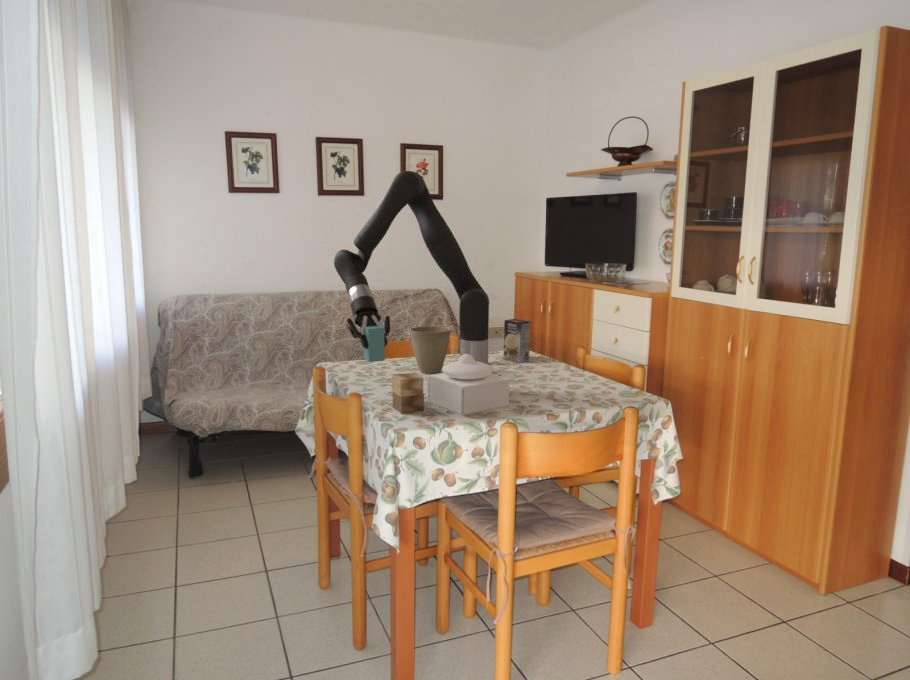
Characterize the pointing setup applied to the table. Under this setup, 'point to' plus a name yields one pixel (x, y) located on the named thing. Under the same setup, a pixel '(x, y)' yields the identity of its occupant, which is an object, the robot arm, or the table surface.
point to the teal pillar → (374, 344)
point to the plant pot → (430, 347)
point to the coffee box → (516, 340)
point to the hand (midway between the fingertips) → (376, 346)
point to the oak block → (407, 384)
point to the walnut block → (408, 403)
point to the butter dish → (468, 387)
